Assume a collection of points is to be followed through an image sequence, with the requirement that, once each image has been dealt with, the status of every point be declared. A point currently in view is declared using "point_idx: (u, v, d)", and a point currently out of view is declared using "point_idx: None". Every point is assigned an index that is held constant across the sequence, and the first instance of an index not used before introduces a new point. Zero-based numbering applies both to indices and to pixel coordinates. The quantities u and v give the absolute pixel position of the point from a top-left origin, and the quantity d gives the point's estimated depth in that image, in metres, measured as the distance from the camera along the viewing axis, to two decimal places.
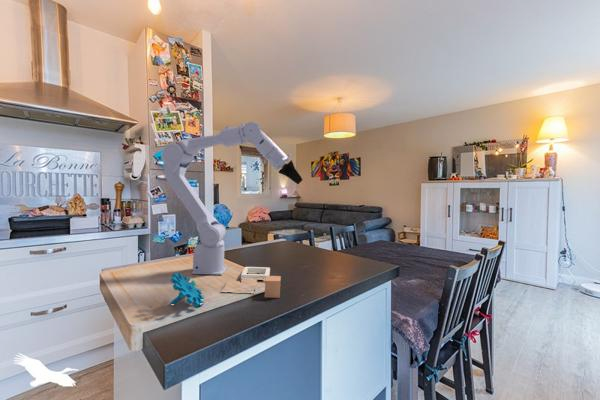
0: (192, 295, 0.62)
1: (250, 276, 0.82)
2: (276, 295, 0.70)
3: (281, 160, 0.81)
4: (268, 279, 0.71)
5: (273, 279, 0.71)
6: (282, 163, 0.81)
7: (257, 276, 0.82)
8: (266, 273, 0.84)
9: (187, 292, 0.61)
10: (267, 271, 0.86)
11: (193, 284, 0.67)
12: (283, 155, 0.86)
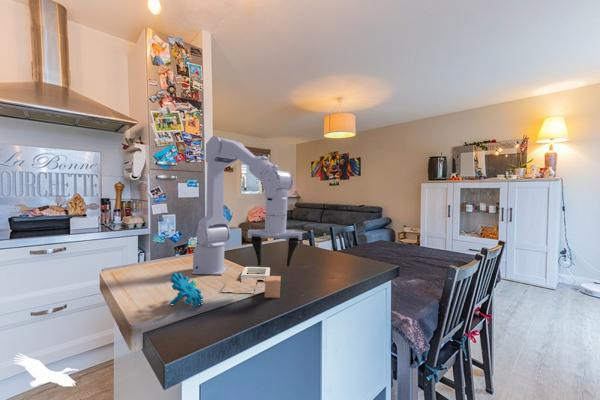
0: (191, 295, 0.62)
1: (250, 276, 0.82)
2: (276, 295, 0.70)
3: None
4: (268, 279, 0.71)
5: (273, 279, 0.71)
6: (248, 235, 0.71)
7: (257, 276, 0.82)
8: (266, 273, 0.84)
9: (186, 292, 0.61)
10: (267, 271, 0.86)
11: (193, 284, 0.67)
12: (267, 229, 0.69)
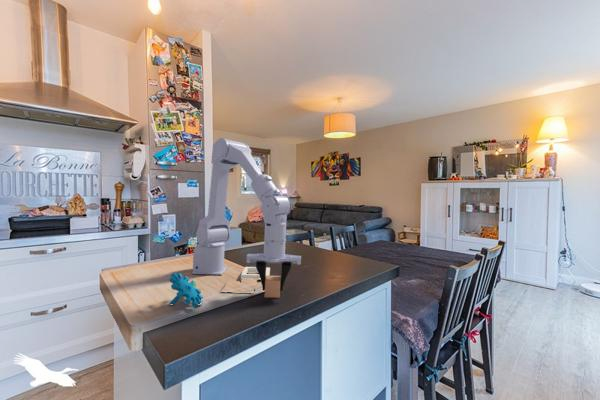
0: (190, 295, 0.62)
1: (250, 276, 0.82)
2: (276, 295, 0.70)
3: None
4: (268, 279, 0.71)
5: (273, 279, 0.71)
6: (247, 259, 0.71)
7: (257, 276, 0.82)
8: (266, 273, 0.84)
9: (185, 292, 0.61)
10: (267, 271, 0.86)
11: (192, 284, 0.67)
12: (266, 254, 0.70)
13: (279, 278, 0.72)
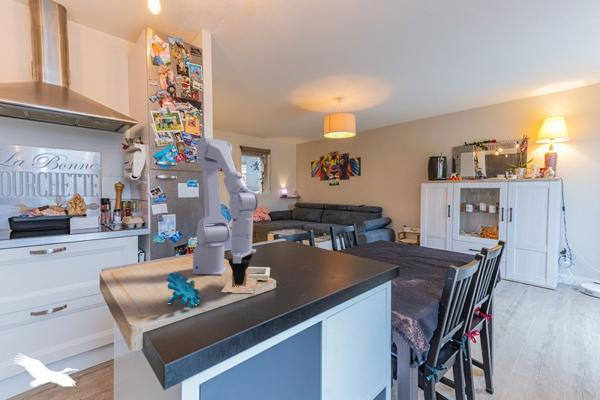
0: (187, 295, 0.62)
1: (250, 276, 0.82)
2: None
3: (238, 257, 0.69)
4: None
5: None
6: (236, 261, 0.69)
7: (257, 276, 0.82)
8: (266, 273, 0.84)
9: (182, 292, 0.61)
10: (267, 271, 0.86)
11: (191, 284, 0.67)
12: (248, 248, 0.74)
13: (246, 270, 0.76)
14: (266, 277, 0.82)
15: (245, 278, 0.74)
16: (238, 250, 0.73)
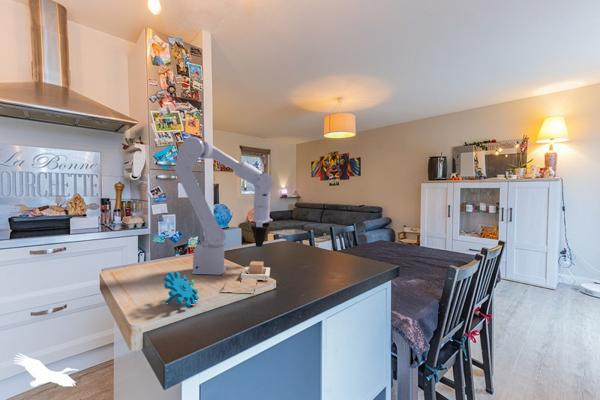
0: (184, 295, 0.62)
1: (250, 276, 0.82)
2: None
3: (260, 222, 0.88)
4: (252, 263, 0.85)
5: (256, 264, 0.85)
6: (259, 225, 0.88)
7: (257, 276, 0.82)
8: (266, 273, 0.84)
9: (178, 291, 0.61)
10: (267, 271, 0.86)
11: (190, 284, 0.67)
12: (266, 217, 0.93)
13: (261, 263, 0.86)
14: (266, 277, 0.82)
15: (261, 269, 0.84)
16: (259, 218, 0.92)
